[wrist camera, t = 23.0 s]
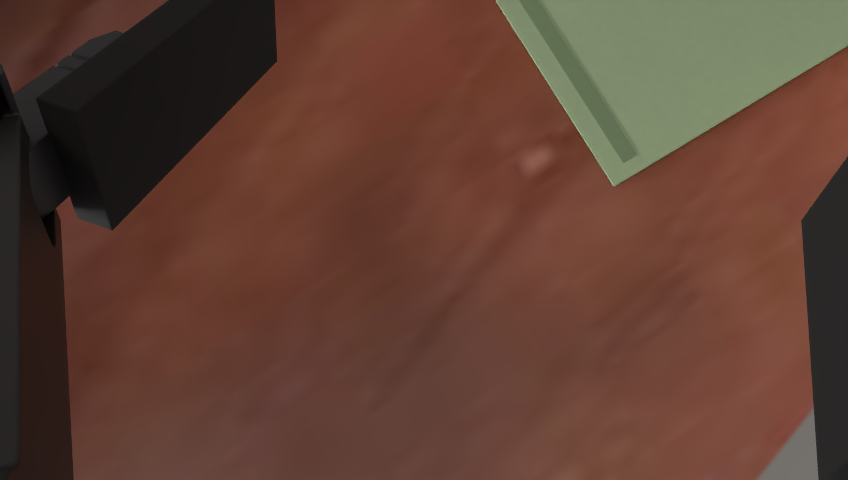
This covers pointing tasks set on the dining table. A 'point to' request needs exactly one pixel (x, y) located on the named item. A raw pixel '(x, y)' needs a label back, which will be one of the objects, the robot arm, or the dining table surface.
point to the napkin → (668, 64)
